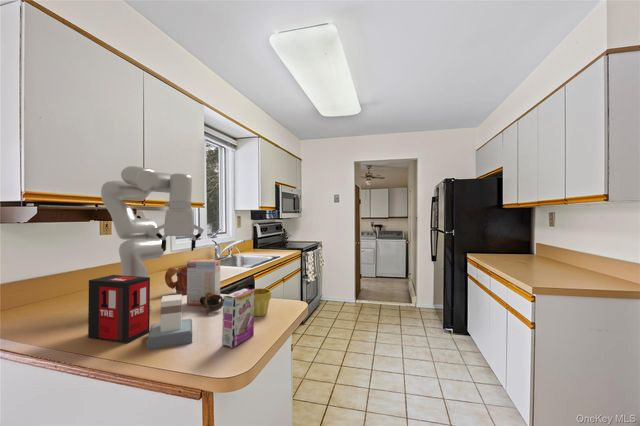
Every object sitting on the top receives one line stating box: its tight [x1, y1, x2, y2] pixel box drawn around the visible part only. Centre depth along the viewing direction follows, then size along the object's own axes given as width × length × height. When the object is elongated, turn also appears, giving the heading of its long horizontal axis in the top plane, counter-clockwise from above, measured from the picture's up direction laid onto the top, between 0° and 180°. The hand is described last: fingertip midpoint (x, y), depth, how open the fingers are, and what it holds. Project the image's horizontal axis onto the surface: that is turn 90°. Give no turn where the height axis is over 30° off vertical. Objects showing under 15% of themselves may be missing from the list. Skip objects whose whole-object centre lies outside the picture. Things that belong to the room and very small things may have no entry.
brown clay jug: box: [200, 294, 223, 315], centre depth 126 cm, size 12×10×8 cm
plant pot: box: [251, 287, 272, 317], centre depth 123 cm, size 10×10×10 cm
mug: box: [164, 265, 187, 295], centre depth 151 cm, size 15×8×15 cm, turn 144°
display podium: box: [146, 318, 193, 351], centre depth 98 cm, size 13×13×4 cm
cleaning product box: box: [87, 274, 151, 344], centre depth 100 cm, size 16×9×20 cm, turn 77°
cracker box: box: [186, 259, 221, 306], centre depth 135 cm, size 14×6×21 cm, turn 84°
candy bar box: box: [221, 288, 255, 349], centre depth 97 cm, size 11×5×16 cm, turn 157°
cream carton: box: [160, 294, 183, 332], centre depth 98 cm, size 6×7×10 cm
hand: (178, 250), depth 109 cm, fingers open, 9 cm apart
